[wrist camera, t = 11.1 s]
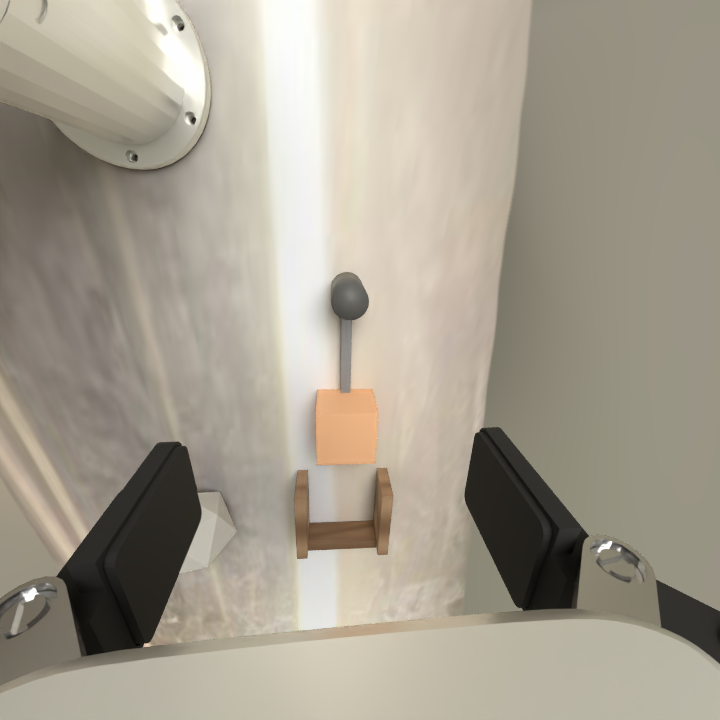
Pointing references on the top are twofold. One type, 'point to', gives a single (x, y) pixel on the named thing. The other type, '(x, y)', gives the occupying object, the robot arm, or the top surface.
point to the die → (209, 532)
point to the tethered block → (346, 391)
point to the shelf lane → (343, 532)
